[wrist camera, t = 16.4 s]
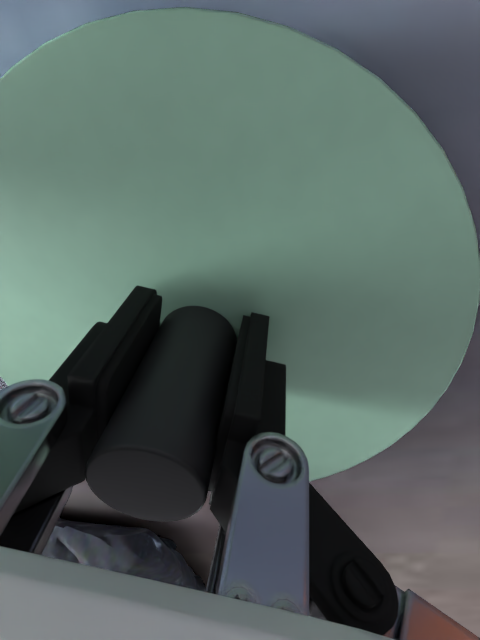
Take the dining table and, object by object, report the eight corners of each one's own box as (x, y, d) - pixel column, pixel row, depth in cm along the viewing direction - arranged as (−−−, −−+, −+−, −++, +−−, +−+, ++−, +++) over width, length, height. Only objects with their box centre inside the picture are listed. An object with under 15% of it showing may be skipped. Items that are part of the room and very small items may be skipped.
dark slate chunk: (210, 494, 18) (187, 614, 14) (266, 660, 29) (262, 751, 25) (-55, 491, 20) (-139, 589, 16) (91, 643, 32) (62, 723, 28)
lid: (-147, 119, 10) (-614, 153, 5) (497, -107, 6) (1274, -827, 1) (98, 474, 18) (21, 632, 13) (448, 457, 14) (537, 662, 9)
